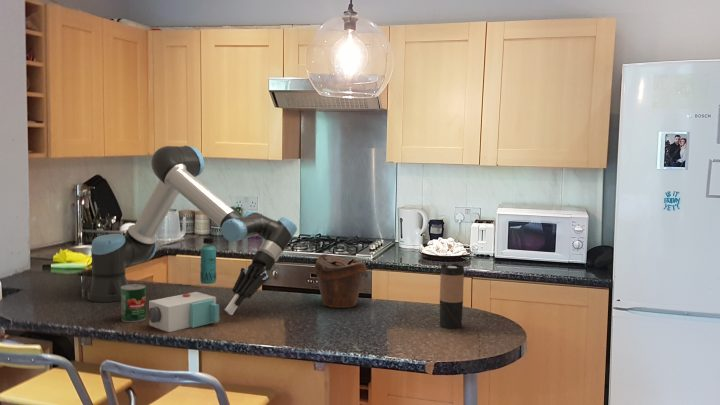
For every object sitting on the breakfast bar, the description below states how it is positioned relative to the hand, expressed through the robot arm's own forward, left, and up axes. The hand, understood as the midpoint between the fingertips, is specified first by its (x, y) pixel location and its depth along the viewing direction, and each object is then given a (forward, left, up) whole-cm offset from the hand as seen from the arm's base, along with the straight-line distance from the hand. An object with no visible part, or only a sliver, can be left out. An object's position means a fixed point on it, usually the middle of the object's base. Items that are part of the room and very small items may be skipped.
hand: (228, 312), depth 213 cm
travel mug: (+71, +20, -3) cm, 74 cm away
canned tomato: (-31, -7, -3) cm, 32 cm away
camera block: (-13, -6, -3) cm, 15 cm away
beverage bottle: (-32, +45, -3) cm, 56 cm away
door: (-5, -7, -3) cm, 9 cm away
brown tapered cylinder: (+28, +35, -3) cm, 45 cm away
